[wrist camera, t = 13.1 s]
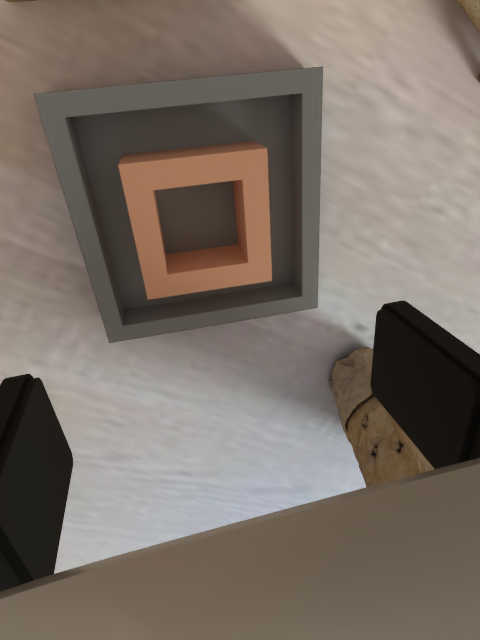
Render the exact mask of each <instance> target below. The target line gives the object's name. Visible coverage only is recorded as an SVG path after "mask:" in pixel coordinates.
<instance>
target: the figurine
mask: <svg viewBox="0 0 480 640" xmlns="http://www.w3.org/2000/svg"><path fill="white" fill-rule="evenodd" d="M456 1H457V2H458V3H459V5H460V6H461V8H462V9H463V11H464V12H465V13H466V15H467V16H468V17H469V18H470V20H471V21H472V22H473V24H474V25H475V26H476V28H477V29H478V30H479V31H480V0H456ZM478 81H479V82H480V76H479V78H478Z"/></svg>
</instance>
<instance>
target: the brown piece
mask: <svg viewBox="0 0 480 640" xmlns="http://www.w3.org/2000/svg"><path fill="white" fill-rule="evenodd" d="M5 1H7V2H19V1H33V0H5Z"/></svg>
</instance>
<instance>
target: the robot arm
mask: <svg viewBox="0 0 480 640" xmlns="http://www.w3.org/2000/svg"><path fill="white" fill-rule="evenodd" d="M370 385H371V390H372V393H373V394H374V396H375V397H376V398H377V400H378V401H379V402H380V403H381V405H382V406H383V407H384V408H385V409H386V411H387V412H388V413H389V414H390V415H391V417H392V418H393V419H394V420H395V422H396V423H397V424H398V425H399V426H400V428H401V429H402V430H403V431H404V432H405V434H406V435H407V436H408V437H409V439H410V440H411V441H412V442H413V443H414V445H415V446H416V447H417V448H418V449H419V451H420V452H421V453H422V454H423V455H424V457H425V458H426V459H427V460H428V462H429V463H430V464H431V465H432V466H433V468H434V470H430V471H427V472H423V473H419V474H415V475H412V476H408V477H404V478H400V479H396V480H393V481H389V482H385V483H381V484H378V485H374V486H370V487H366V488H362V489H359V490H355V491H351V492H347V493H344V494H340V495H336V496H333V497H329V498H325V499H321V500H318V501H314V502H310V503H307V504H303V505H299V506H296V507H292V508H288V509H284V510H281V511H277V512H273V513H270V514H266V515H262V516H259V517H255V518H251V519H248V520H244V521H240V522H237V523H233V524H229V525H226V526H222V527H218V528H215V529H211V530H208V531H204V532H200V533H197V534H193V535H190V536H186V537H182V538H179V539H175V540H171V541H168V542H164V543H161V544H157V545H153V546H150V547H146V548H143V549H139V550H135V551H132V552H128V553H125V554H121V555H117V556H114V557H111V558H107V559H104V560H100V561H97V562H94V563H90V564H87V565H83V566H80V567H77V568H73V569H70V570H66V571H63V572H59V573H56V574H54V569H55V564H56V558H57V552H58V547H59V541H60V535H61V530H62V524H63V518H64V513H65V507H66V501H67V496H68V490H69V484H70V479H71V473H72V467H73V457H72V453H71V450H70V447H69V445H68V443H67V440H66V438H65V435H64V433H63V431H62V428H61V426H60V423H59V421H58V419H57V416H56V414H55V411H54V409H53V407H52V404H51V402H50V399H49V397H48V395H47V392H46V390H45V387H44V385H43V383H42V381H41V379H40V378H33V377H32V376H31V375H30V374H25V375H20V376H15V377H10V378H6V379H4V380H3V381H2V383H1V385H0V640H480V354H478V353H477V352H475V351H474V350H473V349H471V348H470V347H468V346H467V345H466V344H464V343H463V342H461V341H460V340H459V339H457V338H456V337H455V336H453V335H452V334H450V333H449V332H448V331H446V330H445V329H443V328H442V327H441V326H439V325H438V324H437V323H435V322H434V321H432V320H431V319H430V318H428V317H427V316H425V315H424V314H423V313H421V312H420V311H419V310H417V309H416V308H414V307H413V306H412V305H410V304H409V303H407V302H406V301H398V302H393V303H388V304H384V305H383V306H382V308H381V310H379V311H378V312H377V315H376V326H375V337H374V348H373V360H372V371H371V382H370Z"/></svg>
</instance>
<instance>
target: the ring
mask: <svg viewBox="0 0 480 640" xmlns="http://www.w3.org/2000/svg"><path fill="white" fill-rule="evenodd" d="M118 167H119V171H120V176H121V180H122V185H123V189H124V194H125V198H126V203H127V207H128V212H129V217H130V221H131V226H132V230H133V235H134V239H135V244H136V248H137V253H138V257H139V262H140V266H141V271H142V275H143V280H144V284H145V289H146V293H147V298H148V300H149V299H156V298H162V297H169V296H175V295H182V294H188V293H195V292H202V291H208V290H215V289H221V288H228V287H234V286H241V285H248V284H254V283H261V282H267V281H272V263H271V236H270V209H269V181H268V154H267V148H266V147H264V146H262V145H261V144H259V143H257V142H255V141H247V142H238V143H228V144H219V145H210V146H201V147H191V148H182V149H173V150H163V151H154V152H145V153H136V154H126V155H122V157H121V159H120V161H119V164H118ZM227 181H233V185H234V197H235V210H236V222H237V234H238V244H237V245H229V246H222V247H215V248H208V249H201V250H194V251H186V252H179V253H172V254H166V251H165V246H164V240H163V235H162V229H161V224H160V218H159V213H158V207H157V202H156V196H155V191H154V190H160V189H168V188H176V187H185V186H193V185H201V184H210V183H218V182H227Z"/></svg>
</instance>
